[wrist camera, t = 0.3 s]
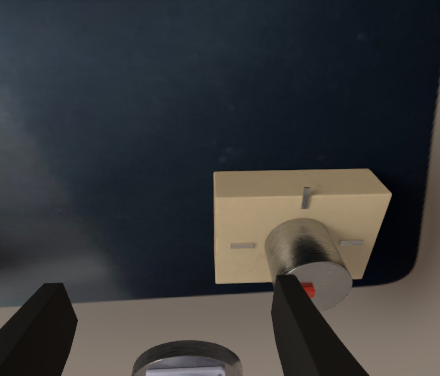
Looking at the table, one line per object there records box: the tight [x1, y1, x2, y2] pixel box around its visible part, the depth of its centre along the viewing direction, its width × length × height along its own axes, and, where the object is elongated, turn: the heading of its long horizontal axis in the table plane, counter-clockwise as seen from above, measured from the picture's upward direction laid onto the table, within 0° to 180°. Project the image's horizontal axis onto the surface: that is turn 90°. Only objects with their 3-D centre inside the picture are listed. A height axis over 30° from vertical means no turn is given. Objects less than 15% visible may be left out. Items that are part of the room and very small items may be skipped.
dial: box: [265, 218, 352, 312], centre depth 18 cm, size 4×4×4 cm
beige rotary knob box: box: [214, 169, 392, 284], centre depth 20 cm, size 10×8×3 cm
